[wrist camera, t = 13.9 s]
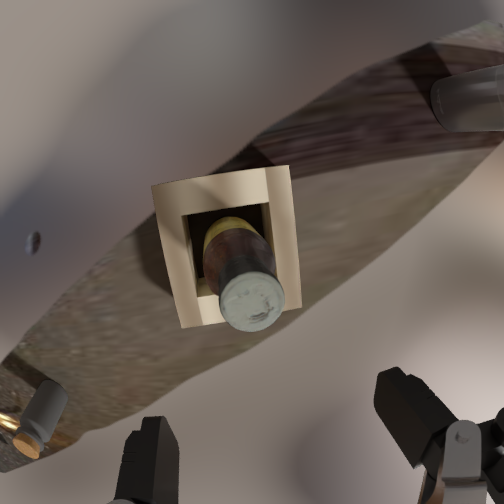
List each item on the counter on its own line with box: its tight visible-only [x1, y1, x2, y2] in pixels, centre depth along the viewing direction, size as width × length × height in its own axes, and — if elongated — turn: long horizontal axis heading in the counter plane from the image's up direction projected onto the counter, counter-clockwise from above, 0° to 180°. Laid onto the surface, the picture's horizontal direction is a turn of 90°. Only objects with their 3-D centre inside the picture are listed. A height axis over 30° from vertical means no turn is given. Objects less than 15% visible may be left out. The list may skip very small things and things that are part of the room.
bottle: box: [13, 380, 68, 459], centre depth 32 cm, size 6×6×15 cm
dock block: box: [151, 165, 302, 328], centre depth 34 cm, size 14×16×6 cm
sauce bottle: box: [203, 217, 285, 332], centre depth 27 cm, size 7×6×20 cm
